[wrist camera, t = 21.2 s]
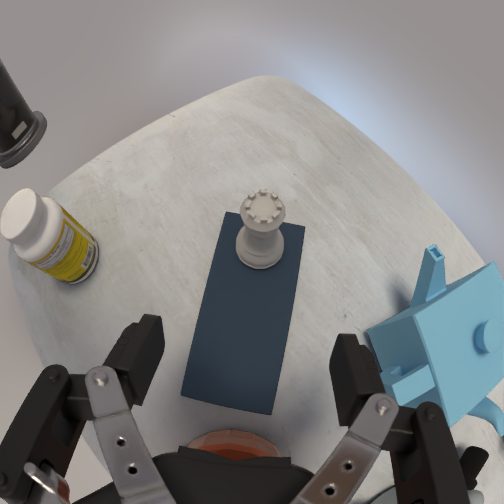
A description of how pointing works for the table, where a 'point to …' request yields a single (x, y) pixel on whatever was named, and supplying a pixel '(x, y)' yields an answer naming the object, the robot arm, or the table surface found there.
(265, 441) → the bowl
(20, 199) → the pill bottle
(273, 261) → the rook chess piece
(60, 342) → the table surface
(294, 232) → the rectangular board
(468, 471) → the figurine
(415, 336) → the teapot
